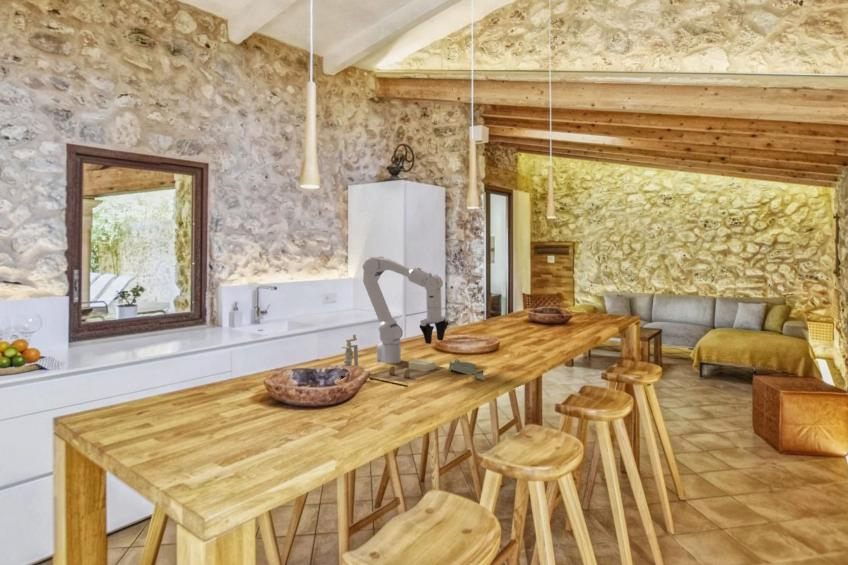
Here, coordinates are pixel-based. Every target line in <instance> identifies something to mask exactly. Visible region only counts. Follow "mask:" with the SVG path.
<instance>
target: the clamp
mask: <svg viewBox="0 0 848 565" xmlns="http://www.w3.org/2000/svg"><path fill="white" fill-rule="evenodd" d="M356 336H357V335H356V334H352V338H351V337H350V338H348V339H347V338H346V340H345V342H346V344H345V345H342V346H341V349H345V351H344V354H345V355H344V356H345V357H344V361H343V366H342V367H344V366H351V367H352V362H353V365H354V366H358V367H359V354H358V351H359V350H358V344H352V343H351V342H354V341H357V340H358V338H357V337H356Z"/></svg>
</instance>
